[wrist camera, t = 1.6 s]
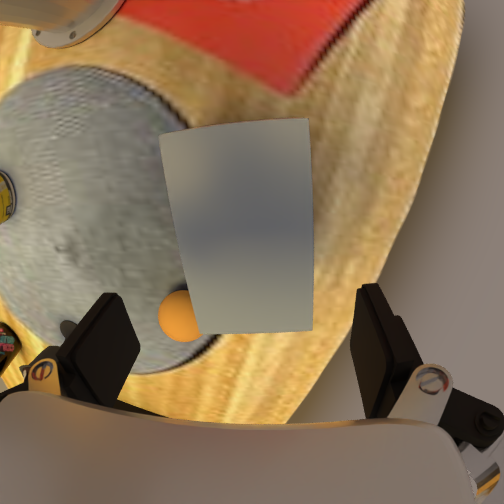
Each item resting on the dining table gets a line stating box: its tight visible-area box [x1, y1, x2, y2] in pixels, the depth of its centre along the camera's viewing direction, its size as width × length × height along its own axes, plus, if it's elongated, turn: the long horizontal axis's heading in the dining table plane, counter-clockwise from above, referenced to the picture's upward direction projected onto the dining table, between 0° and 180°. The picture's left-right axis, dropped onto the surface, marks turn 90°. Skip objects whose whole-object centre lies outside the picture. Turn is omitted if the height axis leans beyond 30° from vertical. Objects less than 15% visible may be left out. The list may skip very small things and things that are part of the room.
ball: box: [158, 290, 203, 342], centre depth 27 cm, size 5×5×5 cm
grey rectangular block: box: [158, 117, 314, 334], centre depth 20 cm, size 13×8×9 cm, turn 6°
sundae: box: [19, 321, 77, 382], centre depth 27 cm, size 7×7×15 cm
